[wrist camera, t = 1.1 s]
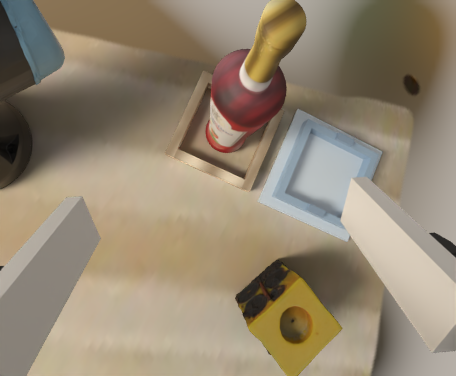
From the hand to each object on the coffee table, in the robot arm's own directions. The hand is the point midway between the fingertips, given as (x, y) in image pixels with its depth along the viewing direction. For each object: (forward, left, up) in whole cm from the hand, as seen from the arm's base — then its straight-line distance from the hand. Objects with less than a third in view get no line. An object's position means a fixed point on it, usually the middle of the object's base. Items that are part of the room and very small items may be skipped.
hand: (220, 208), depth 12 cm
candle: (+21, 0, -29) cm, 36 cm away
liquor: (-7, +10, -29) cm, 32 cm away
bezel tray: (+9, +20, -29) cm, 36 cm away
